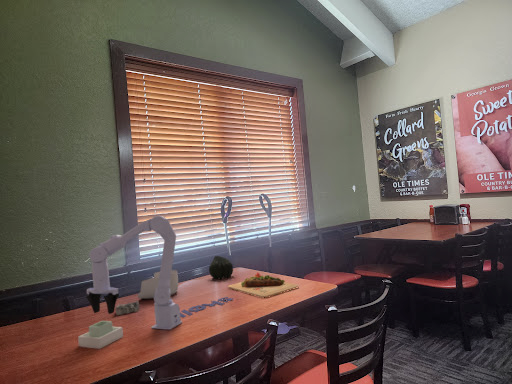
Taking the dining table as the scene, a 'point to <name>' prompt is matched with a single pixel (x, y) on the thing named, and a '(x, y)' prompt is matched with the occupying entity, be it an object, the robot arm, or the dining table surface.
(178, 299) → the dining table surface
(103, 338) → the tray
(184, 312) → the signage
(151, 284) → the cream block
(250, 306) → the dining table surface
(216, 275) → the squash
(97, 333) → the green crate
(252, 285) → the cutting board
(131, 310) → the egg carton
